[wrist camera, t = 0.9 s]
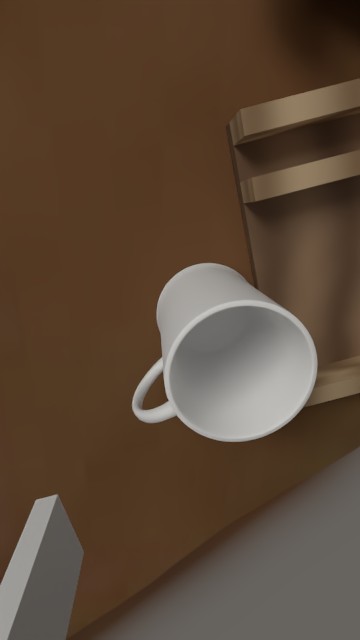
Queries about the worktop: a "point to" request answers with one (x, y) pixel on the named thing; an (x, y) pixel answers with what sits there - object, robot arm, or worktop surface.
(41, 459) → the worktop surface
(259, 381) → the mug
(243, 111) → the rack
